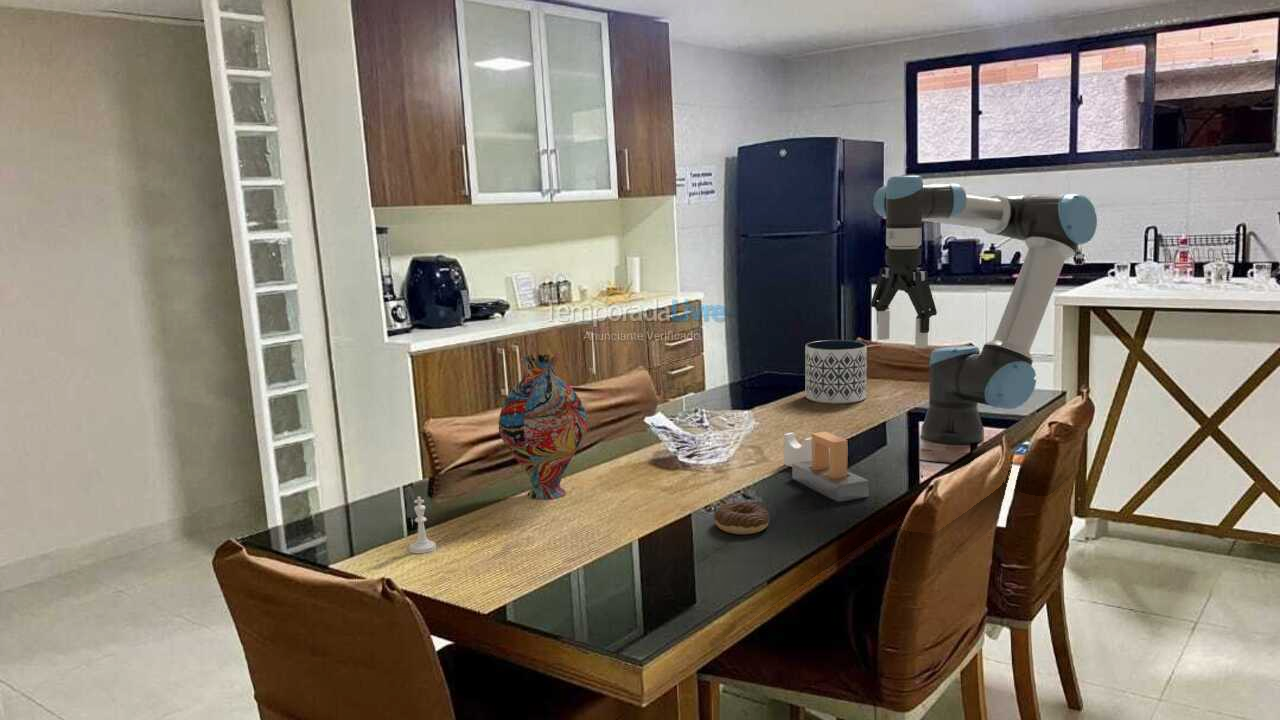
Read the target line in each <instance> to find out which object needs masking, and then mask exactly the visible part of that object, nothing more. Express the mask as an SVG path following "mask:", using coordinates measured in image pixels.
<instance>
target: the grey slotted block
mask: <svg viewBox="0 0 1280 720" xmlns="http://www.w3.org/2000/svg"><path fill="white" fill-rule="evenodd" d="M791 468H792V469H791V470H792V471H791V472H792V473H791V474H792V475H791V476H792V477H791V479H793V480H794V481H796V482H797V483H800V484H801V485H804V486H806V487H807V488H810V489H811V490H814V491H815V492H817V493H819V494H820V495H821V494H822V495H823V496H826V497H827V498H829V499H830V500H833V501H834V502H837V503H840V502H845V501H851V500H858V499H863V498H869V494H870V493H869V492H870V491H869V490H870V481H869V480H868V479H867V478H864V477H862V476H860V475H857V474H855V473H853V472H851V471H849V470H847V477H843V478H837V479H831V478H829V468H827V469H821V470H815V471H814V470H812V461H806V462H799V463H792V467H791Z"/></svg>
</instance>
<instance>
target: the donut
mask: <svg viewBox="0 0 1280 720" xmlns="http://www.w3.org/2000/svg"><path fill="white" fill-rule="evenodd" d="M770 518H771V517H770V515H769V513H768V511H767V510H766V509H765V508H763V507H762V506H760V505H759V504H756V503H750V502H746V501H743V502H742V501H735V502H734V501H733V502H726V503H722V504H721V505H720V506H719V507H718V508H717V509H716V510H715V512H714V516H713V520H714V523H715V525H716V526H717V528H719V529H720V530H722V531H723V532H726V533H729V534H734V535H753V534H756V533H760V532H762V531H763V530H765V529H766V528H767V527H768V525H769V522H770V520H771V519H770Z"/></svg>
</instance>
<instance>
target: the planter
mask: <svg viewBox="0 0 1280 720" xmlns="http://www.w3.org/2000/svg"><path fill="white" fill-rule="evenodd" d="M804 347H805V351H804V353H805V354H804V356H805V357H804V358H805V359H804V361H805V362H804V363H805V364H804V365H805V366H804V367H805V368H804V371H805V373H804V375H805V377H804V380H805V381H804V382H805V388H804V389H805V391H804V392H805V393H804V394H805V397H806V398H807V399H808V400H810V401H812V402H815V403H821V404H830V405H831V404H833V405H841V404H842V405H844V404H853V403H858V402H861V401H863V400H865V398H867V365H868V364H867V360H868V358H867V356H868V355H867V352H868V350H867V348H868V346H867V344H866V343H865V342H862V341H855V340H848V339H847V340H846V339H845V340H844V339H827V340H825V339H824V340H816V341H811V342H807V343H806V344H805V346H804Z"/></svg>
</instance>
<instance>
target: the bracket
mask: <svg viewBox="0 0 1280 720" xmlns="http://www.w3.org/2000/svg"><path fill="white" fill-rule="evenodd" d="M795 433H796V432H788V433H784V434H783V448H784V449H783V455H784V456H783V459H784V461H783V463H784V464H783V465H785V466H788V467H791V468H792V463H799V462H806V461H812V436H810V437H807V438H804V439H803V443H802V445H801V444H800V443H799V442H798V440H797V438H796V434H795ZM829 449H830V448H829Z"/></svg>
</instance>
